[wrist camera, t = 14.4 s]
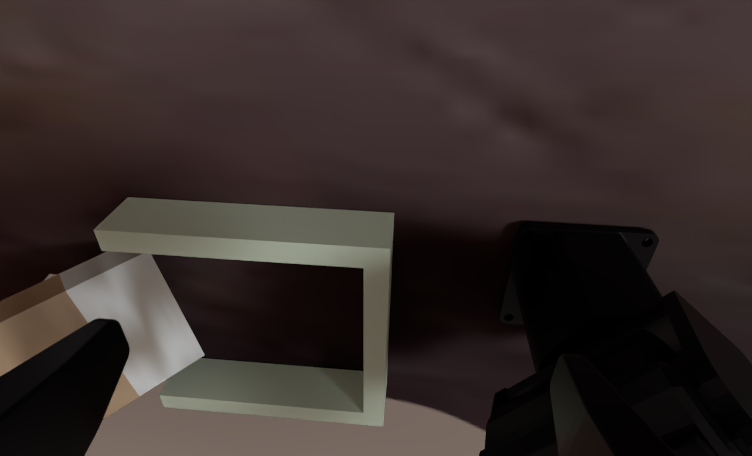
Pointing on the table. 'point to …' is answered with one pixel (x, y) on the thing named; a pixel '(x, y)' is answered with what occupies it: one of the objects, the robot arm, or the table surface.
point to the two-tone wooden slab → (109, 301)
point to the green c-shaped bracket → (282, 245)
